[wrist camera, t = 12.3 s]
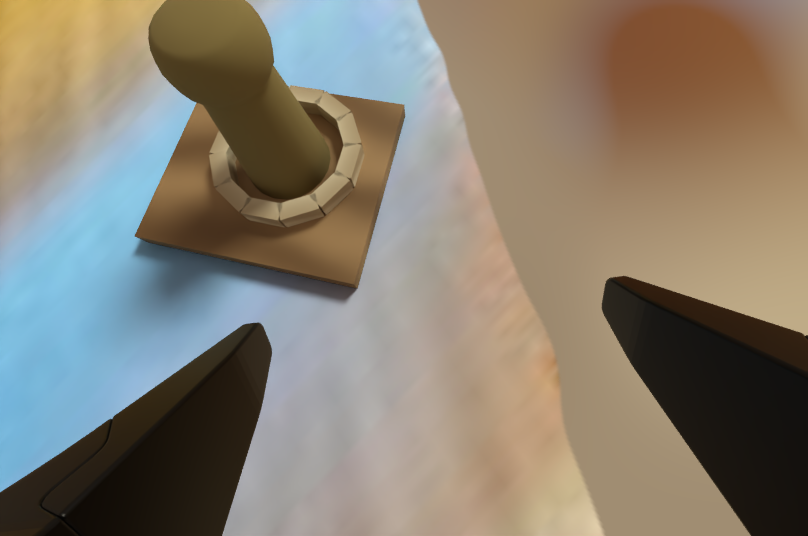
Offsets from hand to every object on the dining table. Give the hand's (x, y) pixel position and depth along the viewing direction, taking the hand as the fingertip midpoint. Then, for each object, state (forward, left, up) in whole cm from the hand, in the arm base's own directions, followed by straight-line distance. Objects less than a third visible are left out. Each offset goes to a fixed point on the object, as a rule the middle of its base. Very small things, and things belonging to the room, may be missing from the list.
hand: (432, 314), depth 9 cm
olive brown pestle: (+10, +13, -13) cm, 21 cm away
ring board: (+10, +14, -14) cm, 21 cm away
